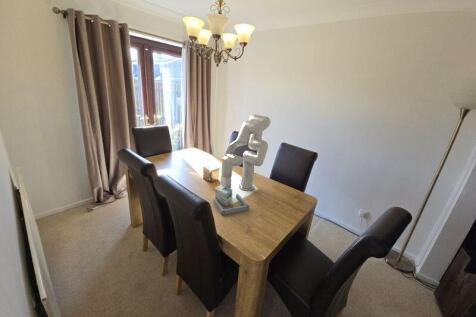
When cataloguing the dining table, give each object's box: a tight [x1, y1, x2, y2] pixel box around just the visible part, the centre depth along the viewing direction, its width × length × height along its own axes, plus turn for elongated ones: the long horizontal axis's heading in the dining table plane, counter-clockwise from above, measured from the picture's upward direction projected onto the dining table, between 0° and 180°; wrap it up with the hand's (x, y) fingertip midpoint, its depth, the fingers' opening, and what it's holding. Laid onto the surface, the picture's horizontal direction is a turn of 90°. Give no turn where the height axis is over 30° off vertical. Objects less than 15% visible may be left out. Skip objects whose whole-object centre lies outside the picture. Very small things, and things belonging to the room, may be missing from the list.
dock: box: [212, 193, 250, 216], centre depth 141 cm, size 17×20×3 cm
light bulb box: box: [214, 184, 233, 207], centre depth 143 cm, size 11×7×11 cm, turn 56°
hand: (225, 196), depth 150 cm, fingers closed
